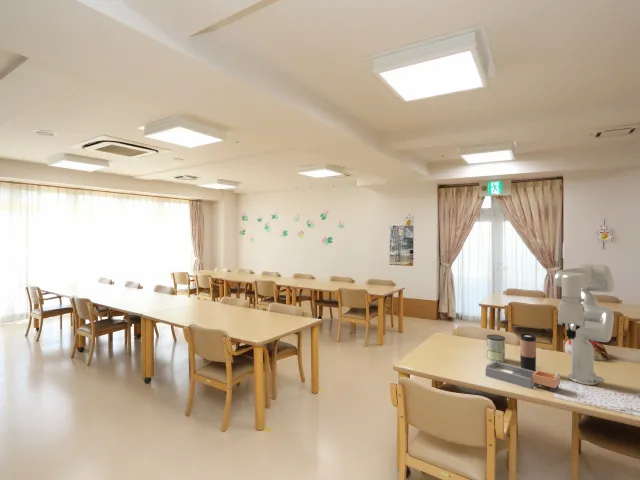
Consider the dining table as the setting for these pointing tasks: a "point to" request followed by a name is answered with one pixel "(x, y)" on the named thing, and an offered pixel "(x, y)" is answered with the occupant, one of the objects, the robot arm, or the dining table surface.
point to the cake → (599, 350)
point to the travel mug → (528, 352)
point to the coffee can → (496, 348)
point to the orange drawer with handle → (546, 379)
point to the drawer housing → (510, 374)
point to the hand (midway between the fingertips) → (571, 338)
